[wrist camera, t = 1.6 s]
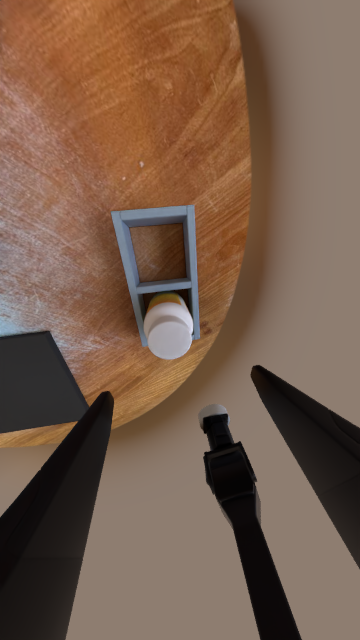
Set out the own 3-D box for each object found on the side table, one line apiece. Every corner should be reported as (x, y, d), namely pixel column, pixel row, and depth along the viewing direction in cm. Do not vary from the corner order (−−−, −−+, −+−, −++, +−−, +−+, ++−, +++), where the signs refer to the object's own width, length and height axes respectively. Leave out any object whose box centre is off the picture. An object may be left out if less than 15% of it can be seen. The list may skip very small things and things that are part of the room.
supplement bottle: (141, 309, 21) (125, 345, 12) (165, 281, 20) (166, 300, 11) (168, 330, 23) (172, 374, 14) (192, 306, 22) (211, 338, 13)
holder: (195, 327, 23) (200, 339, 20) (145, 334, 23) (142, 346, 20) (188, 214, 17) (194, 204, 14) (120, 220, 17) (110, 211, 14)
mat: (92, 414, 29) (90, 419, 28) (-14, 430, 28) (-20, 436, 27) (49, 330, 21) (43, 334, 20) (-101, 349, 20) (-113, 353, 19)
